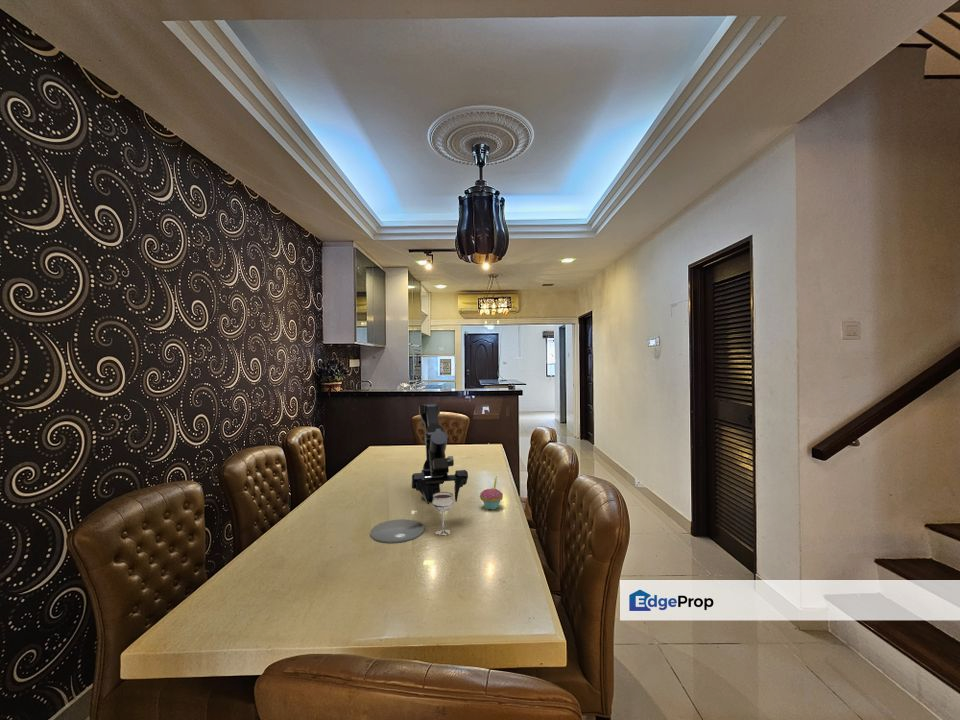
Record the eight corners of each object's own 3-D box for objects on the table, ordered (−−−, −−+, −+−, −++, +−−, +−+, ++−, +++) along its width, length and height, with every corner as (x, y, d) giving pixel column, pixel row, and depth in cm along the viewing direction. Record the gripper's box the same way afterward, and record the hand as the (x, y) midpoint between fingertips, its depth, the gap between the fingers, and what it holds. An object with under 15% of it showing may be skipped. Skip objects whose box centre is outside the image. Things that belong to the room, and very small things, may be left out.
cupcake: (503, 504, 160) (503, 473, 160) (502, 512, 151) (502, 479, 151) (481, 504, 160) (480, 472, 161) (478, 512, 152) (478, 479, 152)
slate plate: (361, 531, 136) (361, 528, 136) (406, 517, 147) (406, 515, 147) (387, 548, 123) (387, 545, 123) (434, 532, 134) (434, 529, 134)
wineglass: (450, 537, 130) (450, 499, 130) (429, 536, 131) (429, 497, 131) (456, 529, 137) (455, 492, 137) (436, 527, 138) (435, 491, 138)
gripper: (411, 449, 139) (414, 492, 128) (466, 446, 143) (473, 487, 132) (410, 467, 147) (412, 509, 136) (462, 464, 151) (469, 504, 140)
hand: (442, 502), depth 136 cm, fingers open, 9 cm apart
